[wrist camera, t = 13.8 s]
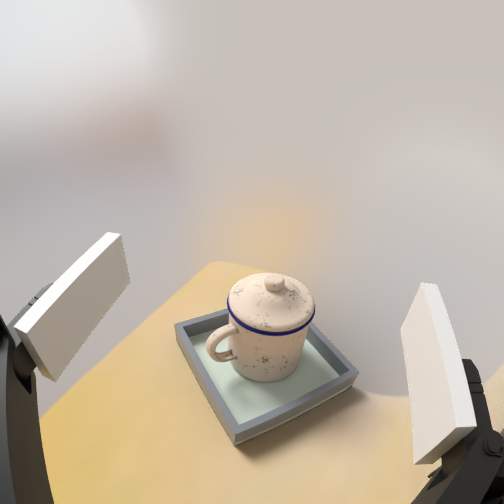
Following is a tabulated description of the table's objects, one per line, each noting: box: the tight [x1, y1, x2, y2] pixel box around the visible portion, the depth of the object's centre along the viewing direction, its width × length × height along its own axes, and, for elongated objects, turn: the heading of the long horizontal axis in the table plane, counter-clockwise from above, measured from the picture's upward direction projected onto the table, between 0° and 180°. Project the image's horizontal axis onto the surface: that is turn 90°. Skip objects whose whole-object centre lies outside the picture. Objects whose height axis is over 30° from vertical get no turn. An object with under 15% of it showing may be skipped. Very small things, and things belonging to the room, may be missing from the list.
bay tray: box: [174, 308, 359, 446], centre depth 36 cm, size 16×16×3 cm
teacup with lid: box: [206, 273, 315, 382], centre depth 34 cm, size 12×9×12 cm
